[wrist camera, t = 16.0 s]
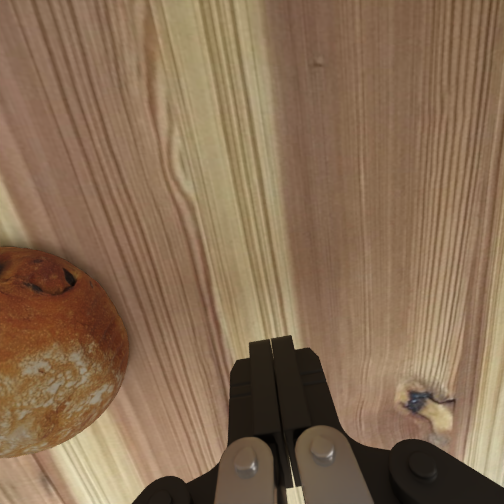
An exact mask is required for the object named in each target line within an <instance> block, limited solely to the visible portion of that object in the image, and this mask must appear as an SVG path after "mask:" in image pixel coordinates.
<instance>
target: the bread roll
mask: <svg viewBox="0 0 504 504" xmlns="http://www.w3.org/2000/svg"><path fill="white" fill-rule="evenodd" d="M128 358H129V343H128V336H127V332H126V329H125V327H124V325H123V322H122V319H121V318H120V316H119V315H118V313H117V311H116V308H115V306H114V305H113V303H112V302H111V300H110V298H109V297H108V295H107V294H106V292H105V291H104V289H103V288H102V287H101V286H100V284H99V283H98V282H96V281H95V280H94V279H92V278H91V277H90V276H89V275H87V274H86V273H85V272H83V271H82V270H80V269H79V268H77V267H76V266H74V265H72V264H71V263H69V262H68V261H66V260H64V259H62V258H60V257H57V256H55V255H52V254H49V253H46V252H42V251H38V250H32V249H28V248H17V247H0V458H4V457H5V458H11V457H18V456H23V455H27V454H34V453H37V452H40V451H43V450H46V449H50V448H52V447H54V446H57V445H59V444H61V443H63V442H65V441H67V440H69V439H71V438H73V437H74V436H76V435H77V434H78V433H80V432H82V431H83V430H84V429H85V428H87V427H88V426H90V425H91V424H92V423H93V422H94V421H95V420H96V419H97V418H99V417H100V416H101V414H102V413H103V412H104V411H105V410H106V409H107V407H108V406H109V405H110V403H111V402H112V401H113V399H114V398H115V396H116V395H117V393H118V391H119V389H120V387H121V384H122V382H123V379H124V375H125V371H126V367H127V363H128Z"/></svg>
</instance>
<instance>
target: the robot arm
mask: <svg viewBox="0 0 504 504" xmlns="http://www.w3.org/2000/svg"><path fill="white" fill-rule="evenodd" d="M271 342H272V348H271V343H270V339H266V340H260V341H255V342H249V353H250V358H246V359H240V360H236V362H235V364H234V366H233V368H232V370H231V372H230V399H229V426H228V444H227V448H226V450H225V451H224V453H223V454H222V456H221V459H220V462H219V463H218V464H217V465H216V466H215V467H214V468H213V469H211V470H210V471H209V472H207V473H206V474H204V475H202V476H200V477H198V478H196V479H194V480H192V481H190V482H188V483H185V482H184V481H183V480H182V479H180V478H178V477H175V476H166V477H162V478H159V479H157V480H155V481H154V482H152V483H151V484H150V485H148V486H147V487H146V488H145V489H144V490H143V491H142V492H141V494H140V495H139V496H138V497H137V498H136V499H135V501H134V502H133V503H132V504H288V503H287V495H286V488H293V481H292V474H291V467H292V471H293V476H294V481H295V485H296V487H298V486H302V491H303V496H304V501H305V504H504V488H503V487H502V486H500V485H498V484H497V483H495V482H493V481H492V480H490V479H489V478H487V477H485V476H484V475H482V474H480V473H479V472H477V471H475V470H474V469H472V468H471V467H469V466H467V465H466V464H464V463H462V462H461V461H459V460H458V459H456V458H454V457H453V456H451V455H449V454H448V453H446V452H445V451H443V450H441V449H440V448H438V447H436V446H435V445H433V444H431V443H428V442H426V441H423V440H418V439H407V440H403V441H401V442H398V443H397V444H396V445H395V446H394V447H393V448H392V449H391V450H385V449H379V448H373V447H368V446H365V445H362V444H360V443H358V442H356V441H354V440H353V439H352V438H350V437H349V436H348V435H347V434H346V433H345V431H344V430H343V428H342V427H341V424H340V422H339V419H338V416H337V413H336V410H335V406H334V403H333V400H332V397H331V394H330V391H329V388H328V385H327V382H326V378H325V375H324V372H323V369H322V366H321V363H320V360H319V357H318V356H317V355H316V354H315V353H314V352H313V351H312V350H311V349H310V348H303V349H297V350H295V349H294V345H293V340H292V336H291V335H289V336H283V337H277V338H271ZM272 349H273V353H272ZM273 356H274V358H273ZM289 457H290V459H289ZM290 462H291V467H290Z"/></svg>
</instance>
